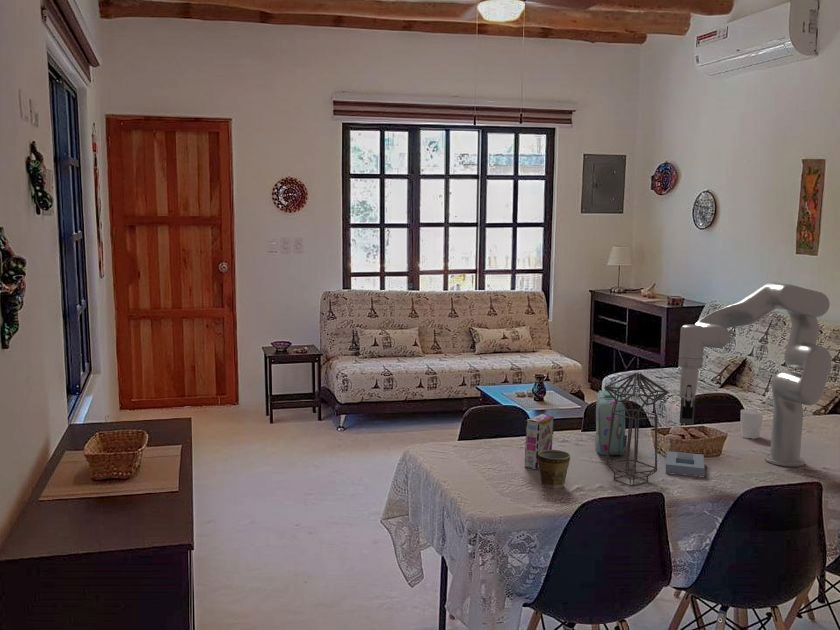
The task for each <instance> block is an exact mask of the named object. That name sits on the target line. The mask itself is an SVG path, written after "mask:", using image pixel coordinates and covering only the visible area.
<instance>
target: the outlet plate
mask: <svg viewBox="0 0 840 630" xmlns="http://www.w3.org/2000/svg"><path fill="white" fill-rule="evenodd" d="M664 472H665V474H669V473H674V474H673V475H678V474H686V475H685V476H687V475H697V476H704V477H705V457H704V454H699V453H698V454H697V453H688V452H680V451H678V452H677V451H666V458H665V471H664ZM697 476H696V477H697Z"/></svg>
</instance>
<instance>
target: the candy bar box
mask: <svg viewBox="0 0 840 630" xmlns="http://www.w3.org/2000/svg"><path fill="white" fill-rule="evenodd" d="M554 417H555V416H553V415H550V414H549V415H548V414H543V413H541V414H538V415H536V416H534V417H531V418H529V419H526V427H525V428H526V429H525V446H524V450H525V451H524V466H526V467H530V468H529V469H531V468H534V469H533V470H535V469H537V470H538V468H539V469H540V467H539V462H538V452H540V451H543V450H553V438H554V437H553V433H554ZM526 467H525V468H526Z"/></svg>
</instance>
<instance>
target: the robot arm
mask: <svg viewBox="0 0 840 630" xmlns="http://www.w3.org/2000/svg"><path fill="white" fill-rule="evenodd" d="M830 303H831V302H830V299H829V297H828V296H827V295H826V294H825V293H823V292H822V291H818V290H812V289H809V288H805V287H801V286H797V285H794V284H790V283H782V282H781V283H780V282H768V283H766V284H764V285H762V286H761V287H759V288H758V289H756V290H754V292H752V293H751V294H749V295H747V296H746V297H744V298H743V299H741V300H740V301H738V302H736V303H732V304H730V305H727V306H724V307H723V308H720V309H719V308H718V309H717V310H714V311H712V312H710V313H708V314H706V315H705V316H703V317H701V319H699V320H697V321H696V322H695V323H694V324H684V325H682V326H681V327H680V335H679V336H680V337H679V350H678V351H679V352H678V367H679V368H681V370H680V382H679V397H680V398H681V397H684V406H683V410H682V418H685V419H692V415H693V407H692V403H693V398H695V399H696V394H697V387H698V379H699V378H698V377H699V369H702V368H703V362H704V351H705V350H704V349H705V348H712V349H721V348H724V347H726V346H727V345H728V344H729V343H730V342H731V333H730V331H729V329H730V328H737V327H745V326H750V325H754V324H755V323H756V322H758V321H760V320H761V319H763V317H765V316H767V315H768V314H770V313H771V312H773V311H775V310H776V309H779V310H785V311H786V313H787V314H788V315H789V318H790V321H791V329H790V334H789V338H788V339H787V340H788V341H787V343H786V348H785V352H784V357H783V358H784V359H783V360H784V362H785V364H786V365H787V366H788V367H790V368H792V369H795V370H799V371H802V374H801V373H798V372H793V371H791V370H790V371H789V370H788V371H787V370H783V371H780V372H778V373H777V374H776V375H775V376H774V377H773V378H772V382H771V393H772V398H773V399H772V401H773V404H772V405H773V406H772V407H773V408H772V409H773V410H772V421H771V422H772V424H771V437H770V449H769V453H767V454H765V456H764V460H765V461H766V462H768V463H769V464H773V465H776V466H779V467H780V466H781V467H789V468H792V467H793V468H795V467H798V468H799V467H802V466H804V465H805V463H806V462H805V459H803V458H802V457H801V448H802V436H803V435H802V434H803V424H804V423H803V422H804V409H803V405H804V406H814V405H816V404H818V403H819V402H820V401H821V399H822V396H823V394H824V392H825V389H826V385H827V381H828V377H829V375H830V372H831V367H832V356H831V352H830V351H829V350H828V349H827V348H826V347H825V346H823V345H819V344H817V341H818V335H819V331H820V328H819V327H820V326H819V325H820V324H819V320H818V318H820V317H823V316H824V315H826V314H827V312H828V311H829V309H830V305H831V304H830ZM686 399H687V400H686ZM690 399H691V400H690Z"/></svg>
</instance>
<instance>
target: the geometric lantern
mask: <svg viewBox="0 0 840 630" xmlns="http://www.w3.org/2000/svg"><path fill="white" fill-rule="evenodd" d="M623 381H624V382H623ZM632 381H633V383H632ZM620 382H623V383H622V384H620V386H618V387H616V386H613V385H615V384H618V383H620ZM652 385H653V386H652ZM637 387H638V394H637V395H636V388H637ZM654 387H655V388H657V389H655V388H654ZM628 388H629V389H628ZM603 389H604V390H605V391H608V393H609V394H610V395H611V396H612V397H613V399H614V400H615V402H616V403H615V402H614V405H615V407H614V405H613V408H614V411H613V408H612V411H613V412H612V411H611V412H612V414H611V423H610V433H609V442H608V452H607V455H606V461H605V465H606V467H608V468H609V470H611V472H612V473H613V481H616V482H619V483H622V484H624V485H626V486H629V487H634V486H638V485H643V484H647V483H649V477H650V476H652V475H653V474H655V473H657V471H658V425H659V424H658V423H659V421H658V418H659V415H658V414H657V407H656V403H657V402H658V401H659V400H661V399H663V398H664V397H665V396H666V395H668V394H670V391H668V390H667V389H665V388H664V387H662V386H660V385H659V384H658V383H656V382H655V381H653V380H651V379H650V378H648V377H647V376H645V375H644V374H643V373H641V372H640V373H639V372H633V373H632V374H630V375H628V376H626V377H624V378H621V379H618V380H616V381H614V382H611V383H609V384H607V385H605V386H604V387H603ZM621 389H622V390H621ZM627 389H628V390H627ZM658 389H659V390H658ZM619 390H621V392H620V391H619ZM610 391H611V392H612V393H614V395H615V397H614V396H613V395H612V394H611V392H610ZM631 391H632V393H629V392H631ZM646 391H648V392H649V394H647V392H646ZM617 392H618V394H617ZM641 392H642V393H641ZM619 393H620V395H619ZM616 395H617V399H616ZM619 397H620V400H618V398H619ZM621 397H622V398H624V399H623V400H622V398H621ZM632 397H637V398H639V399H640V400H641V401H642V405H641V406H640V407H639V409H634V408H633V406H632V405H631V403H630V402H629V399H630V398H632ZM644 397H645V398H646V399H645V400H644V399H643V398H644ZM649 400H651V401H652V402H649ZM626 401H627V403H628V405H629V406H630V408H631V409H627V407H626V404H625V402H626ZM617 402H622V403H623V405H624V409H625V410H619V411H615V409H616V405H617ZM651 405H652V407H653V413H651V412H647V411H644V410H642V409H643V408H644V406H647V407H648V406H651ZM621 411H625V412H626V413H627V415H628V416H626V415H625V416H624V415H620V414H617V413H615V412H621ZM630 411H631V415H630ZM635 412H637V413H636V414H635ZM640 412H641V413H644V414H648V415H651V416H647V417H640ZM615 414H617V415H620V416H623V417H625V419H626V418H627V419H629V420H628V427H627V428H628V429H627V430H628V431H627V444H626V456H625V459H622V460H621V459H619V460H613V461H609V456H610V455H609V450H610V443H611V436H612V429H613V422H614V415H615ZM645 419H646V420H647V419H654V465H651V464H649V463H646V462H642V461H640V460H638V455H639V454H638V453H639V452H638V451H639V429H640V420H645ZM633 426H634V442H633V443H634V444H633V445H634V447H633V449H634V450H633V452H634V456H633V458H634V459H631V458H630V452H631V443H632V433H633ZM622 462H625V468H624V469H620V468H618V467H615V466H613V465H610V464H615V463H622ZM630 462H633V465H632V467H631V469H630ZM637 463H638V464H641V465H645V466H646V467H649V468H653V469H651V470H643V471H641V470H640V471H638V470H637ZM615 470H616V471H615ZM620 473H624V475H623V474H620ZM637 474H641V475H644V476H637ZM616 475H618V476H616ZM631 477H632V478H631ZM618 478H619V479H620V478H625V479H628V480H629V483H627V482H624V481H622V480H618ZM645 478H646V479H645ZM638 479H640V480H642V481H643V482H639V483H635V480H638Z"/></svg>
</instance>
